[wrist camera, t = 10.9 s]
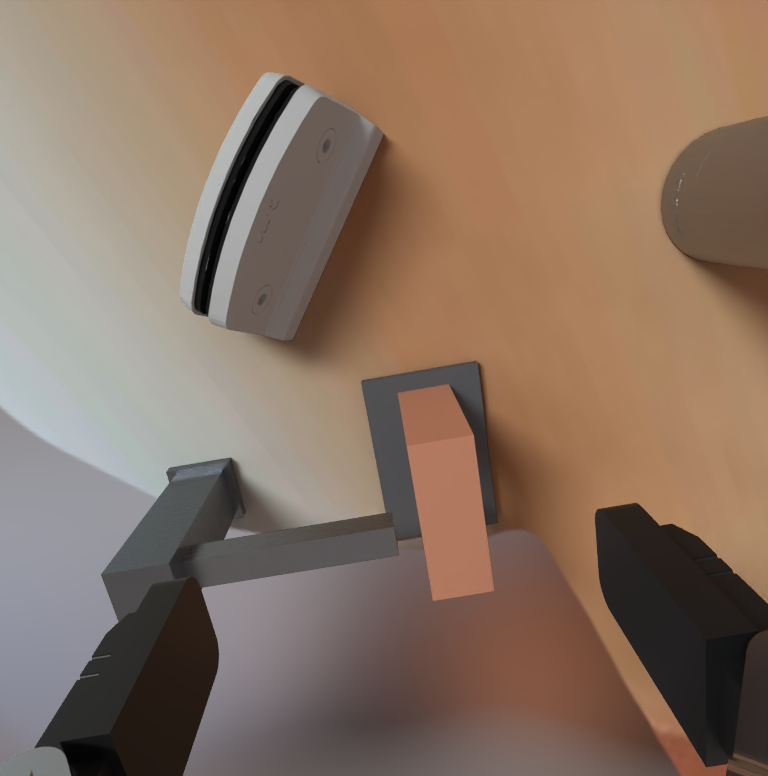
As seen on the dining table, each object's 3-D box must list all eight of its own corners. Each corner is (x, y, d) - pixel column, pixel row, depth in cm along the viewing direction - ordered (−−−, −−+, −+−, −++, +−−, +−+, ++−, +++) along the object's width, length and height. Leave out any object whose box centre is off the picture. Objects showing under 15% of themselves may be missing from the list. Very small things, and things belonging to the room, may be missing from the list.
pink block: (448, 384, 43) (473, 434, 33) (466, 509, 46) (494, 590, 36) (397, 392, 43) (406, 446, 33) (418, 517, 46) (433, 600, 36)
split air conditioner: (290, 344, 42) (216, 355, 33) (240, 315, 43) (153, 318, 34) (386, 128, 38) (332, 67, 29) (328, 101, 39) (257, 34, 29)
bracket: (383, 431, 44) (390, 519, 32) (393, 487, 46) (404, 592, 33) (169, 467, 45) (89, 568, 32) (186, 521, 46) (116, 639, 33)
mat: (476, 360, 43) (477, 362, 42) (495, 519, 47) (497, 522, 47) (361, 380, 43) (361, 382, 43) (390, 536, 47) (391, 540, 47)
